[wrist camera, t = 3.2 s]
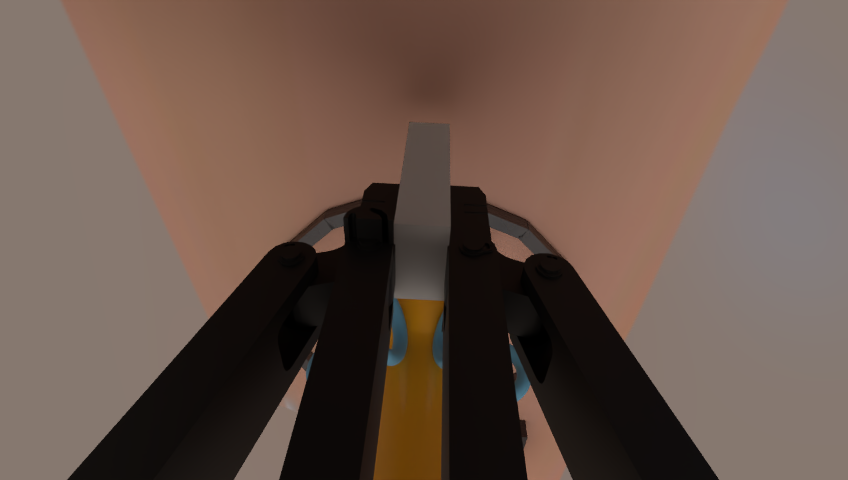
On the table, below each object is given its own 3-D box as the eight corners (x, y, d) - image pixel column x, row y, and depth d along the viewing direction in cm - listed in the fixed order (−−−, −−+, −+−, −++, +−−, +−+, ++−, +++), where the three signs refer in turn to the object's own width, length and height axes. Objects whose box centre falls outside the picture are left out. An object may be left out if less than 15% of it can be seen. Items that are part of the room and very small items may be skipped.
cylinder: (440, 360, 35) (436, 604, 24) (313, 308, 32) (236, 558, 20) (547, 259, 29) (616, 528, 17) (399, 180, 26) (359, 443, 14)
